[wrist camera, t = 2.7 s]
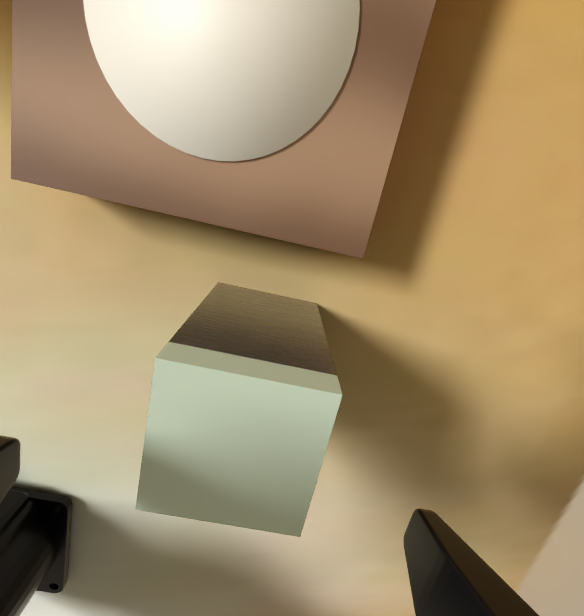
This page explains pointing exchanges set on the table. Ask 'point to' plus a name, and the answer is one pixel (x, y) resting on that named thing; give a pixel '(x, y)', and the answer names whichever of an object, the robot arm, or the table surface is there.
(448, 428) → the table surface
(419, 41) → the walnut step
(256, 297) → the metal column
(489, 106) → the table surface
